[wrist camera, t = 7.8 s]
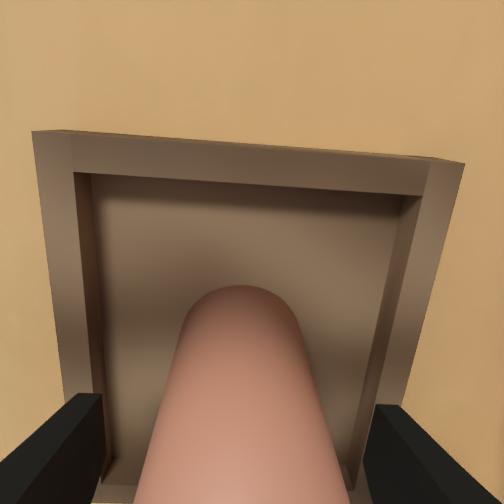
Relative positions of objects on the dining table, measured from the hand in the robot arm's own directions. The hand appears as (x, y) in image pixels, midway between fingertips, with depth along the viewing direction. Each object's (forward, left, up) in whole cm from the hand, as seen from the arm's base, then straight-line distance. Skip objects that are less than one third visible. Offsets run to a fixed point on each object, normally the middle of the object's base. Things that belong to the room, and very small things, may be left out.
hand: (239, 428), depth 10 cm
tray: (0, 0, -5) cm, 5 cm away
